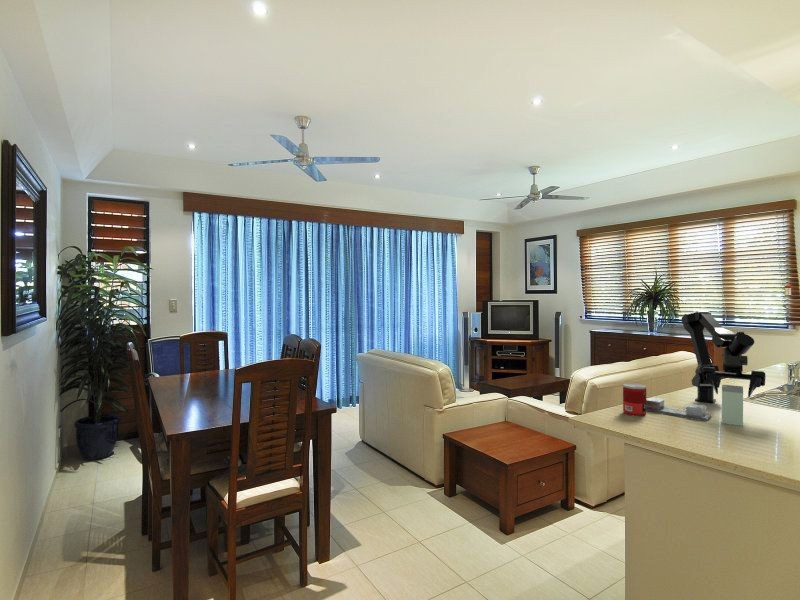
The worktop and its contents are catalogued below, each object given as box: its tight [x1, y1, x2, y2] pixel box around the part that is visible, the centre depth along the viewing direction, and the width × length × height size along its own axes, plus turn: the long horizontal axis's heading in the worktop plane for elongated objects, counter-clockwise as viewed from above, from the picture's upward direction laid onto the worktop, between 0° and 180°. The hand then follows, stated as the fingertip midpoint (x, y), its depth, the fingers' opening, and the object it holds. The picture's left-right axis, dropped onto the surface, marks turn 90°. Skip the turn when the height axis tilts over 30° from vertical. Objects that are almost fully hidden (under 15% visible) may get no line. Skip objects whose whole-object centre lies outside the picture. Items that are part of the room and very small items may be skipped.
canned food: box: [622, 382, 647, 417], centre depth 172 cm, size 8×8×11 cm
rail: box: [646, 397, 712, 421], centre depth 172 cm, size 8×22×4 cm, turn 44°
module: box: [721, 384, 744, 427], centre depth 159 cm, size 5×6×13 cm
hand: (732, 395), depth 161 cm, fingers open, 9 cm apart
